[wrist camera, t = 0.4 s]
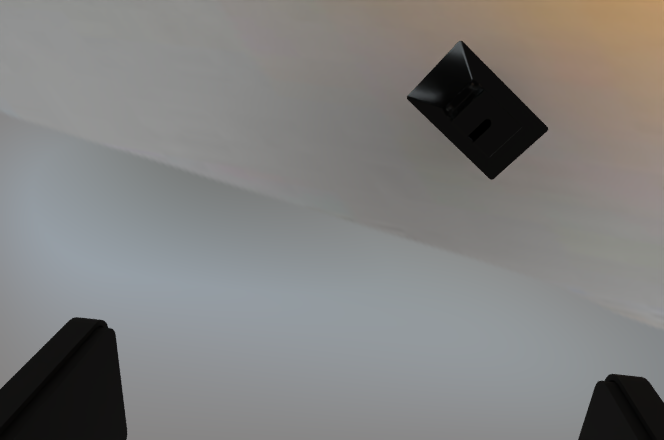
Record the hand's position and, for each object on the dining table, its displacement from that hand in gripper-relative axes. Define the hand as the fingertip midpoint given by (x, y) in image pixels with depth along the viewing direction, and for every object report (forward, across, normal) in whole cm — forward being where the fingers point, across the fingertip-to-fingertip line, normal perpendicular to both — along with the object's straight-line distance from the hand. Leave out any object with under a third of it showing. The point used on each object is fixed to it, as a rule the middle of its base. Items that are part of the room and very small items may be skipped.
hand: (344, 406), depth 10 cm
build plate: (+31, -7, -1) cm, 32 cm away
